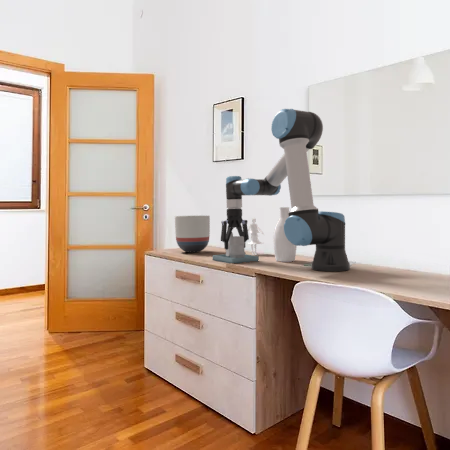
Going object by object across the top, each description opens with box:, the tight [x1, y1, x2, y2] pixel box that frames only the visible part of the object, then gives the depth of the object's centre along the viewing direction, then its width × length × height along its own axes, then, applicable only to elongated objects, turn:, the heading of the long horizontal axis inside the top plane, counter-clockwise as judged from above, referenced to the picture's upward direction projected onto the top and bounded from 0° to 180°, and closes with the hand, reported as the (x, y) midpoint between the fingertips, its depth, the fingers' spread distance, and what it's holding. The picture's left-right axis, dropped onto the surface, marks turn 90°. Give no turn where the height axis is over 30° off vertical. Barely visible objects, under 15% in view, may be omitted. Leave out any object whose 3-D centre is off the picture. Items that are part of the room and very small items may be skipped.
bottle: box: [272, 206, 297, 263], centre depth 201 cm, size 11×11×25 cm
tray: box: [212, 253, 260, 264], centre depth 205 cm, size 18×15×2 cm
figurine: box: [246, 217, 265, 256], centre depth 230 cm, size 13×10×20 cm
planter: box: [174, 214, 211, 253], centre depth 249 cm, size 20×20×21 cm
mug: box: [228, 231, 246, 258], centre depth 205 cm, size 8×12×12 cm, turn 28°
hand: (235, 255), depth 205 cm, fingers closed on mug, 7 cm apart
